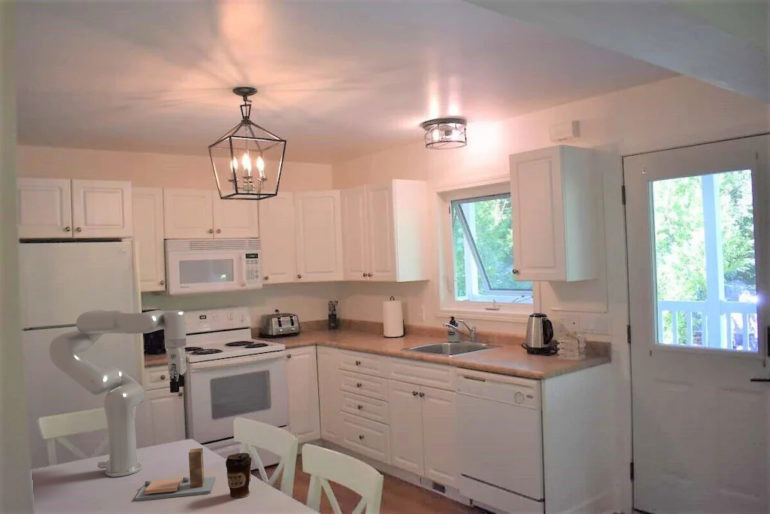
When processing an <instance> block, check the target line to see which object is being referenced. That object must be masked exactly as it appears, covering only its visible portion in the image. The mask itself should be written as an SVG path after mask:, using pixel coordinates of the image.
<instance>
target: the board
mask: <svg viewBox="0 0 770 514" xmlns="http://www.w3.org/2000/svg"><path fill="white" fill-rule="evenodd" d="M216 481H217V480H216V476H210V477H209V476H208V477H204V485H203V487H197V488H190V476H186V477H185V476H184V477H182V483H181V484H180V486H179V488H178V489H177V491H171V492H161V493H151V494H145V490H146V488H147V487H148V486H149V484H150V483H151V482H152V480H145V481H144V484H143V485H142V487H141V489H140V490H139V491H138V493H137V494H136V495H135V497H134V501H135V502H140V501H141V500H142V501H150V500H151V499H152V500H160V498H162V499H172V498H180V497H181V498H182V497H190V496H198V495H199V494H201V495H209V494H211V493H212V491H213V488H214V484H215V483H214V482H216ZM171 497H172V498H171Z"/></svg>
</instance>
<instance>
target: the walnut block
mask: <svg viewBox="0 0 770 514" xmlns="http://www.w3.org/2000/svg"><path fill="white" fill-rule="evenodd" d="M203 450H204V448H203V447H201V448H200V447H199V448H190V450H189V452H188V464H189V465H188V467H189V479H190V488H197V487H203V485H204V478H205V471H204V470H205V468H204V467H205V465H204V453H203V452H204V451H203Z"/></svg>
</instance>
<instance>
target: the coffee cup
mask: <svg viewBox="0 0 770 514" xmlns="http://www.w3.org/2000/svg"><path fill="white" fill-rule="evenodd" d="M250 455H251V454H250V453H247V452H237V453H234V454H229V455H228V456H227V458H226V460H225V467H226V478H227V486H228V487H229V488H228V489H229V497H230V498H234V499H236V498H237V499H238V498H245V497H248V496H250V494H251V491H250V483H251V477H252V470H251V467H252V466H251V465H252V459H253V458H252V457H251V456H250Z"/></svg>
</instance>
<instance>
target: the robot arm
mask: <svg viewBox="0 0 770 514" xmlns="http://www.w3.org/2000/svg"><path fill="white" fill-rule="evenodd" d="M75 325H76V328H77V330H73V331H70V332H65V333H62V334H60V335H57V336H55V337H54V338H53V339H52V341H51V342H50V344H49V347H48V352H49V353H48V354H49V358H50V361H51V362H52V364H53V365H54V366H55V367H56V368H57V369H58V370H59V371H61V372H62V373H64V374H66V375H67V376H68V377H70V378H71V379H72V380H73V381H75V382H76V383H77V384H78V385H79V386H80V387H82V388H83V389H85V390H86V391H87V392H89V393H90V394H91V395H93V396H101V395H104V394H106V395H105V396H104V399H103V408H104V413H105V417H106V426H107V443H108V459H109V460H107V461H98V463H97V467H98V468H99V469H106V470H105V475H106V476H107V477H113V478H114V477H116V478H117V477H125V476H129V475H134V474H136V473H139V472H140V471H141V470H142V469H143V464H142V463H141V462H138V455H137V454H138V452H137V451H138V450H137V436H136V435H137V434H136V422H135V417H134V414H133V411H132V408H135V407H137V406H138V405H140V404H141V403H142V402H143V400H144V399H145V390H144V388H143V385H141V384H140V383H139V382H138V381H136V380H135V379H134V378H133V377H131V376H130V375H129V374H127V373H126V372H125V371H123V370H122V369H121V368H118V367H116V366H113V365H109V366H108V365H107V366H103V367H98V365H96V364H94V363H92V362H91V360H89V359H87V358H85V357H83V356H81V355H78V354H79V353H82V352H85V351H87V350H89V349H91V347H93V346H94V344H95V343H96V342H98V341H99V340H100V338H101V337H103V335H104V334H121V335H122V334H126V335H127V334H128V335H131V334H132V335H133V334H134V335H135V334H149V333H153V332H156V331H160V330H164V331H163V333H164V349H166V350H167V368H168V370H167V371H168V375H169V393H171V394H174V393H175V394H176V393H180V388H183V387H185V385H186V383H185V382H186V381H185V373H186V372H187V369H188V368H187V358H186V350H185V348H187V333H186V332H187V331H186V327H187V326H186V314H185V311H183V310H180V309H178V310H177V309H176V310H175V309H173V310H161V309H156V310H150V311H146V312H145V311H144V312H130V313H129V312H128V313H126V312H123V311H122V310H119V309H118V310H105V309H96V310H95V309H94V310H90V311H89V310H88V311H85V312H82V313H81V314H79V316H78V317H77V318H76V321H75Z"/></svg>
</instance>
